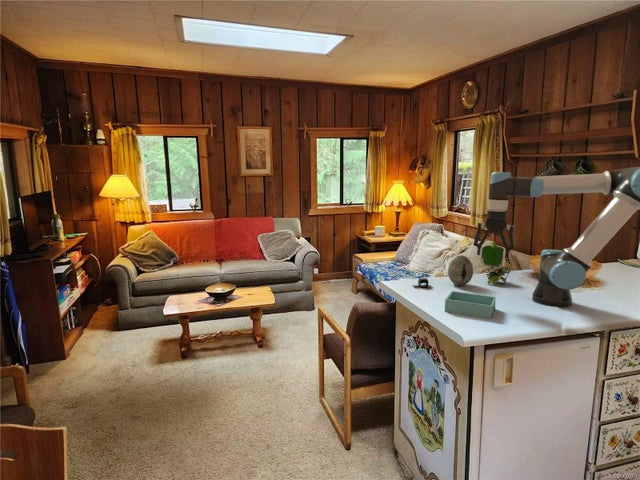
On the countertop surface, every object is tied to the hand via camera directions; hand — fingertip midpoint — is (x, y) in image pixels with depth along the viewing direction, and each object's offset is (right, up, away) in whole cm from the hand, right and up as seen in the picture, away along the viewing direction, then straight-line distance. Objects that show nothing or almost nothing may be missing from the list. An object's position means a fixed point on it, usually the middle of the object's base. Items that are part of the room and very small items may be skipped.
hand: (491, 264), depth 172 cm
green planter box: (-12, -18, -7) cm, 22 cm away
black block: (-21, -13, +30) cm, 39 cm away
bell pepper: (0, -1, 0) cm, 1 cm away
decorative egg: (-2, -12, +33) cm, 36 cm away
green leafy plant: (+19, -12, +37) cm, 43 cm away
